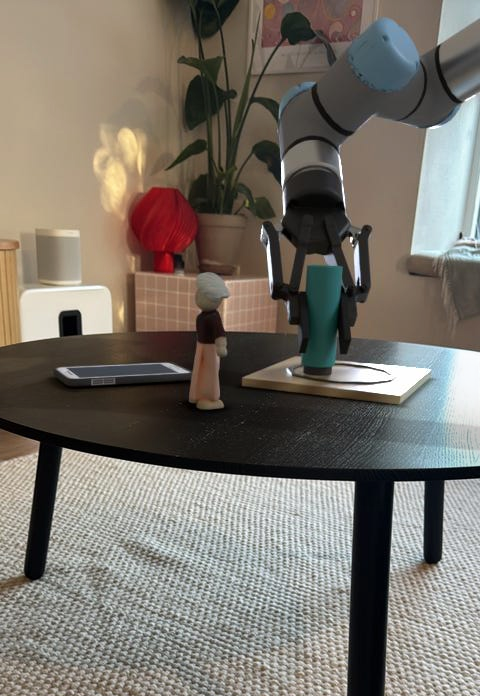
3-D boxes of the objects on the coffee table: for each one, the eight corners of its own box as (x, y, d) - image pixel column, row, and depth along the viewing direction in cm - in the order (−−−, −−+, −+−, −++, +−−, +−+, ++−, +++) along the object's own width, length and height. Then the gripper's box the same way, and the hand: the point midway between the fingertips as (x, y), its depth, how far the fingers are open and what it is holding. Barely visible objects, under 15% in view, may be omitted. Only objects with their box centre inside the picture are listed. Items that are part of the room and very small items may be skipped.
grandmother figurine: (173, 399, 77) (173, 269, 73) (206, 396, 79) (208, 269, 74) (208, 415, 71) (211, 275, 67) (243, 412, 73) (248, 275, 68)
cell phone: (196, 381, 86) (196, 372, 86) (68, 388, 80) (67, 379, 79) (171, 369, 92) (171, 361, 92) (51, 375, 86) (51, 366, 86)
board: (430, 377, 94) (431, 368, 94) (399, 404, 78) (401, 393, 78) (294, 363, 100) (295, 354, 100) (241, 386, 85) (241, 375, 85)
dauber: (338, 372, 90) (346, 266, 85) (328, 377, 86) (336, 267, 82) (306, 368, 91) (313, 264, 87) (295, 373, 88) (302, 265, 83)
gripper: (373, 217, 97) (391, 368, 88) (241, 211, 96) (246, 364, 87) (387, 169, 90) (409, 327, 81) (246, 162, 89) (251, 322, 80)
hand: (324, 346), depth 84 cm, fingers closed on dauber, 4 cm apart
